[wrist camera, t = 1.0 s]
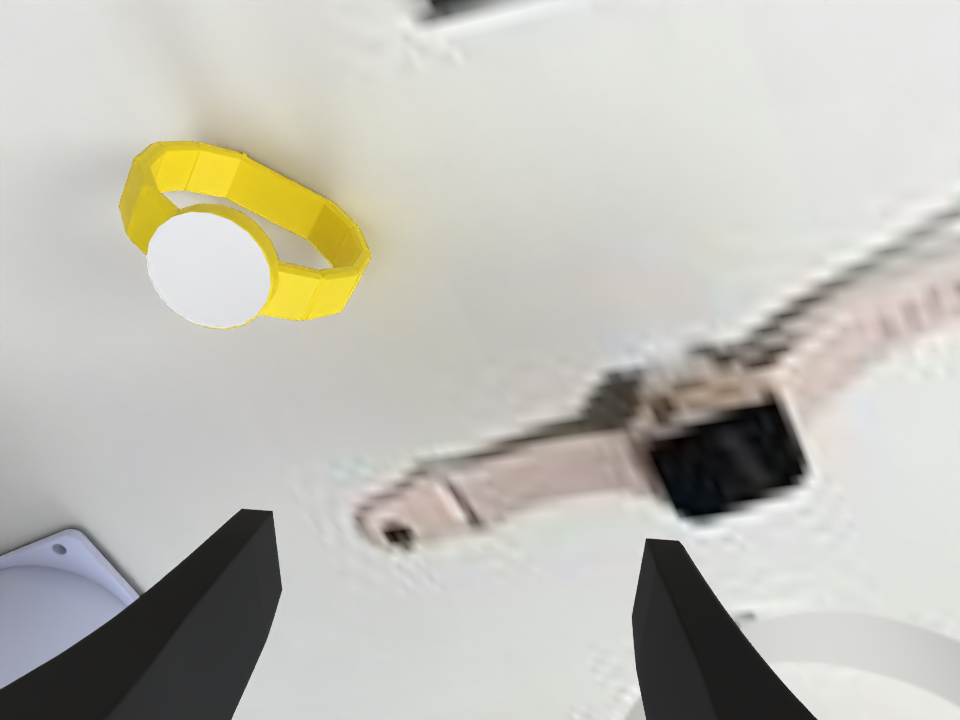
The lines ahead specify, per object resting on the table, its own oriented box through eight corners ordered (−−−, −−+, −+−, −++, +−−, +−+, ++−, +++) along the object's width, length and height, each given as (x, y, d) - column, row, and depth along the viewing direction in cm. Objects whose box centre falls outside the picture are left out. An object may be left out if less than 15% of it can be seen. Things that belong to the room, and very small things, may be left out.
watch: (173, 187, 21) (50, 254, 16) (204, 100, 20) (84, 141, 15) (357, 287, 22) (301, 381, 17) (397, 211, 21) (351, 286, 16)
